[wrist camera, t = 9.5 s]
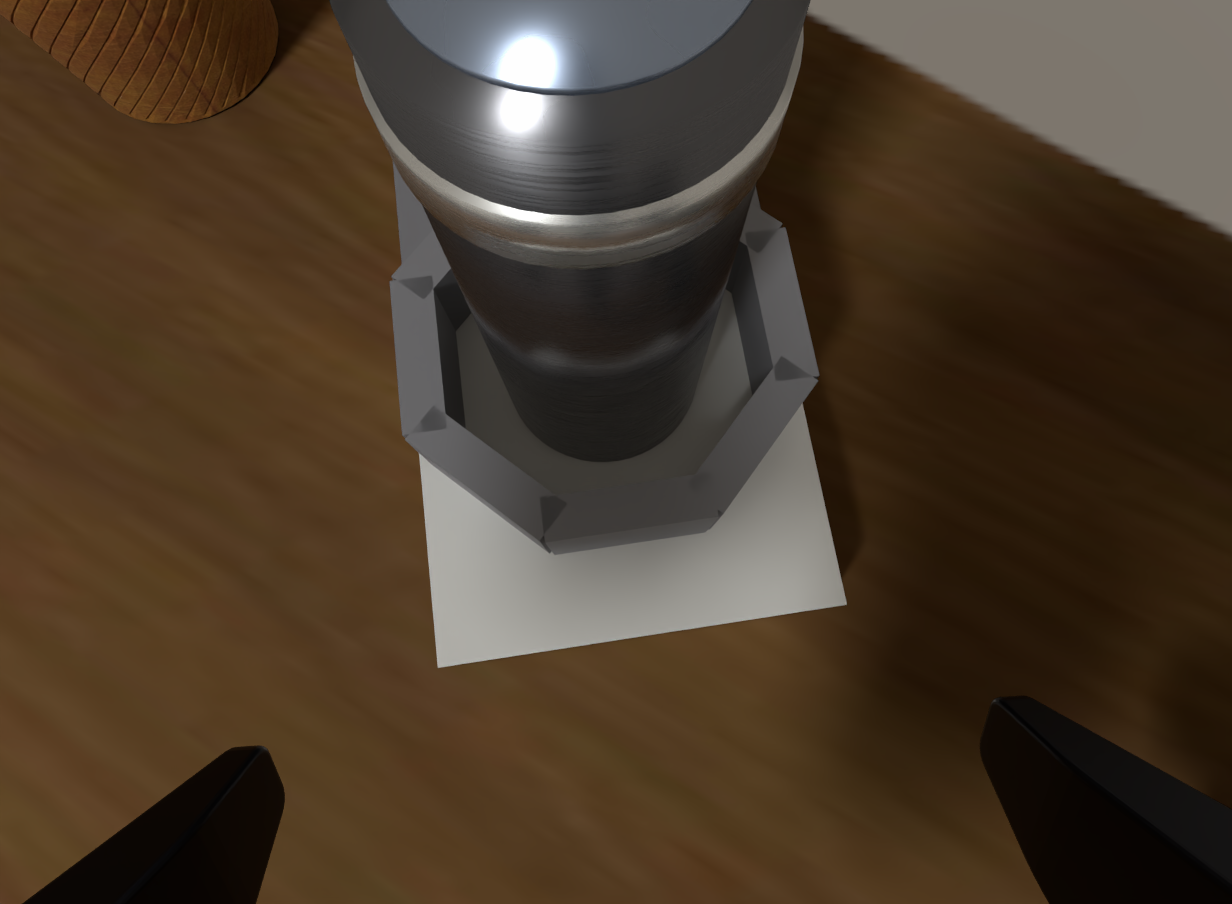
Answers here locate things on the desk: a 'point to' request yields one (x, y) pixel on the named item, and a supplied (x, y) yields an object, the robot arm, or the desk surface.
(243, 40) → the disposable coffee cup
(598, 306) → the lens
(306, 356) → the desk surface
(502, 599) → the octagonal ring on plate
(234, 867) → the robot arm
